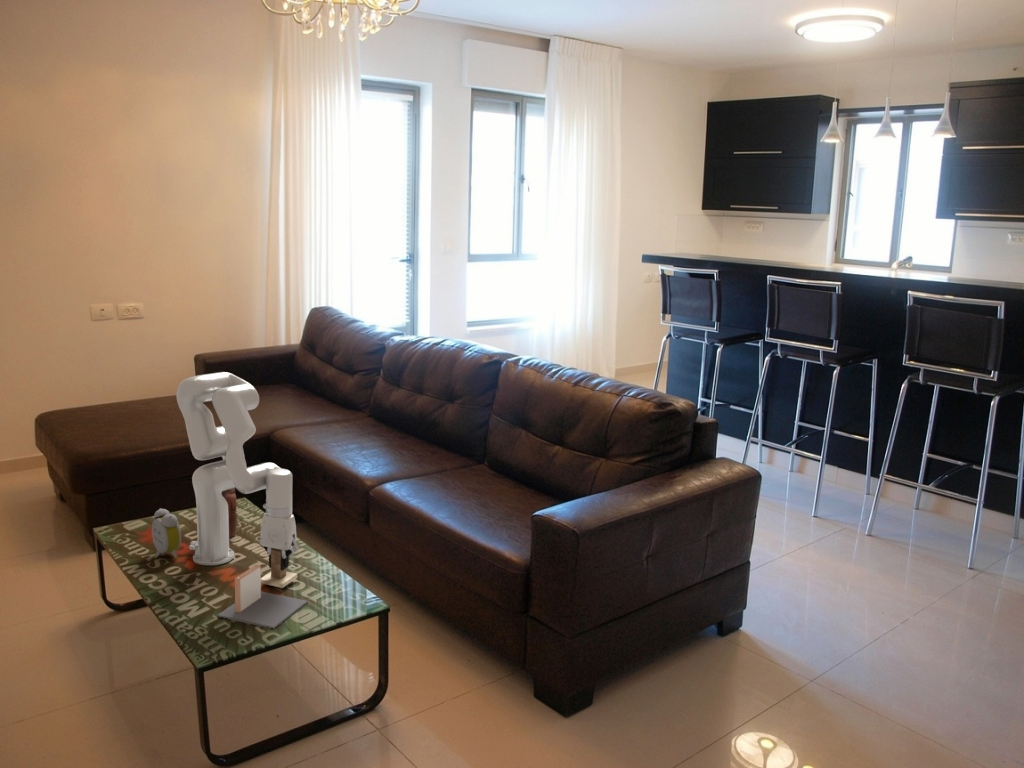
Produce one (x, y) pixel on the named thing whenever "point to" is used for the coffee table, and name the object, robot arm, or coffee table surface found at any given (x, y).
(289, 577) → the square post stand
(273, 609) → the mat
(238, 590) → the tile
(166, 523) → the alarm clock
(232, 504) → the wooden figurine
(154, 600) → the coffee table surface
